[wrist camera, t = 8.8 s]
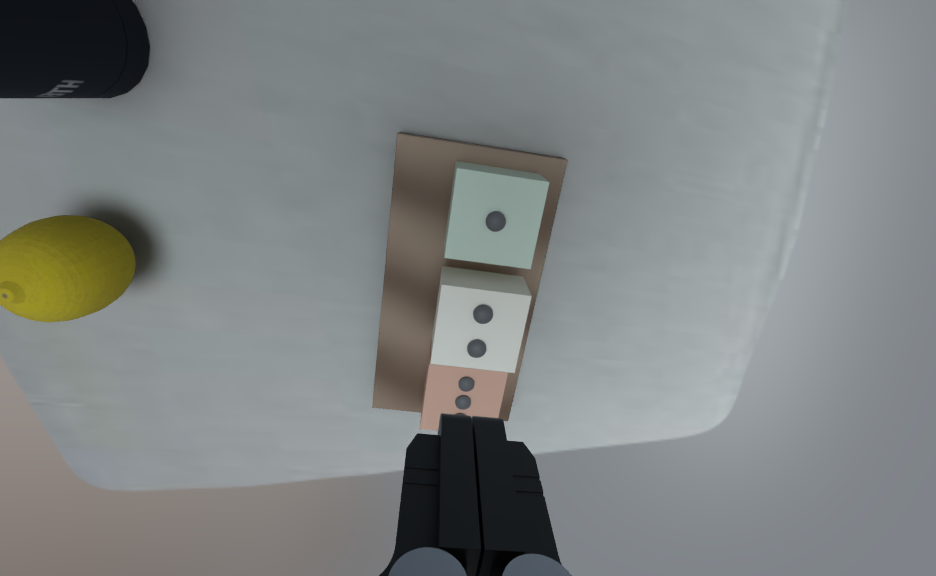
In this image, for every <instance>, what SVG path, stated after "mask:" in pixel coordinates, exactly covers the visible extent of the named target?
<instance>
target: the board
mask: <svg viewBox="0 0 936 576" xmlns="http://www.w3.org/2000/svg"><path fill="white" fill-rule="evenodd" d="M456 161H460V162H467V163H473V164H480V165H486V166H493V167H499V168H506V169H512V170H519V171H525V172H532V173H538V174H540V175H541V176H543V177H544V178H545V179H546V180H548V181H549V187H548V192H547V196H546V201H545V205H544V210H543V215H542V219H541V224H540V228H539V233H538V238H537V242H536V247H535V251H534V256H533V261H532V265H531V269H525V268H517V267H510V266H502V265H495V264H487V263H480V262H472V261H464V260H457V259H449V258H444V244H445V236H446V228H447V221H448V214H449V207H450V200H451V193H452V186H453V178H454V171H455V164H456ZM566 165H567V160H566V159H564V158H561V157H554V156H548V155H541V154H535V153H529V152H522V151H516V150H510V149H503V148H497V147H491V146H484V145H478V144H472V143H465V142H459V141H453V140H446V139H440V138H433V137H427V136H421V135H414V134H408V133H402V132H399V133H398V134H397V145H396V156H395V167H394V178H393V188H392V199H391V210H390V221H389V232H388V243H387V254H386V264H385V275H384V286H383V297H382V308H381V319H380V330H379V341H378V351H377V362H376V373H375V384H374V395H373V406H372V408H382V409H392V410H402V411H412V412H421V411H422V400H423V393H424V385H425V378H426V371H427V364H428V357H429V350H430V343H431V341H432V335H433V328H434V321H435V313H436V306H437V299H438V292H439V285H440V278H441V271H442V266H446V267H453V268H461V269H469V270H476V271H484V272H492V273H499V274H507V275H515V276H522V277H524V279H525V281H526V284H527V286H528V288H529V291H530V293H531V295H532V297H531V302H530V306H529V311H528V315H527V320H526V324H525V329H524V333H523V338H522V342H521V347H520V351H519V356H518V360H517V364H516V369H515V373H509V372H508V376H507V380H506V385H505V390H504V394H503V399H502V403H501V408H500V412H499V417H498V418H502V419H503V421H508V419H509V415H510V410H511V406H512V402H513V397H514V393H515V388H516V384H517V380H518V375H519V371H520V366H521V362H522V358H523V353H524V349H525V345H526V340H527V336H528V331H529V327H530V323H531V318H532V314H533V309H534V305H535V301H536V296H537V292H538V288H539V283H540V279H541V274H542V270H543V266H544V261H545V257H546V252H547V248H548V244H549V239H550V235H551V231H552V226H553V222H554V217H555V213H556V209H557V204H558V200H559V195H560V191H561V187H562V182H563V178H564V174H565V169H566Z"/></svg>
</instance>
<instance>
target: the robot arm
mask: <svg viewBox="0 0 936 576" xmlns="http://www.w3.org/2000/svg"><path fill="white" fill-rule="evenodd" d="M379 576H572V575H571V574H570V573H569V572H568V571H567V570H566V569H565V568H564V567H563V566H562V564H561V562H560V559H559V556H558V552H557V548H556V543H555V539H554V535H553V531H552V527H551V523H550V518H549V514H548V510H547V506H546V502H545V498H544V496H543V489H542V485H541V481H540V480H539V473H538V469H537V464H536V460H535V458H534V456H533V455H532V454H531V452H530V451H529V450H528V448H527V447H526V446H525V444H524V443H523V442H516V441H507V439H506V433H505V427H504V421H503V419H502V418H492V417H480V416H472V419H471V416H467V415H456V414H444V413H441V415H440V421H439V428H438V435H429V434H417V435H416V436H415V438H414V439H413V440H412V442H411V443H410V445H409V446H408V447H407V450H406V459H405V467H404V476H403V485H402V493H401V502H400V511H399V520H398V528H397V537H396V546H395V551H394V554H393V557H392V559H391V561H390V563H389V565H388V566H387V568H386V569H385V570H384V571H383V573H381V574H380V575H379Z"/></svg>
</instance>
